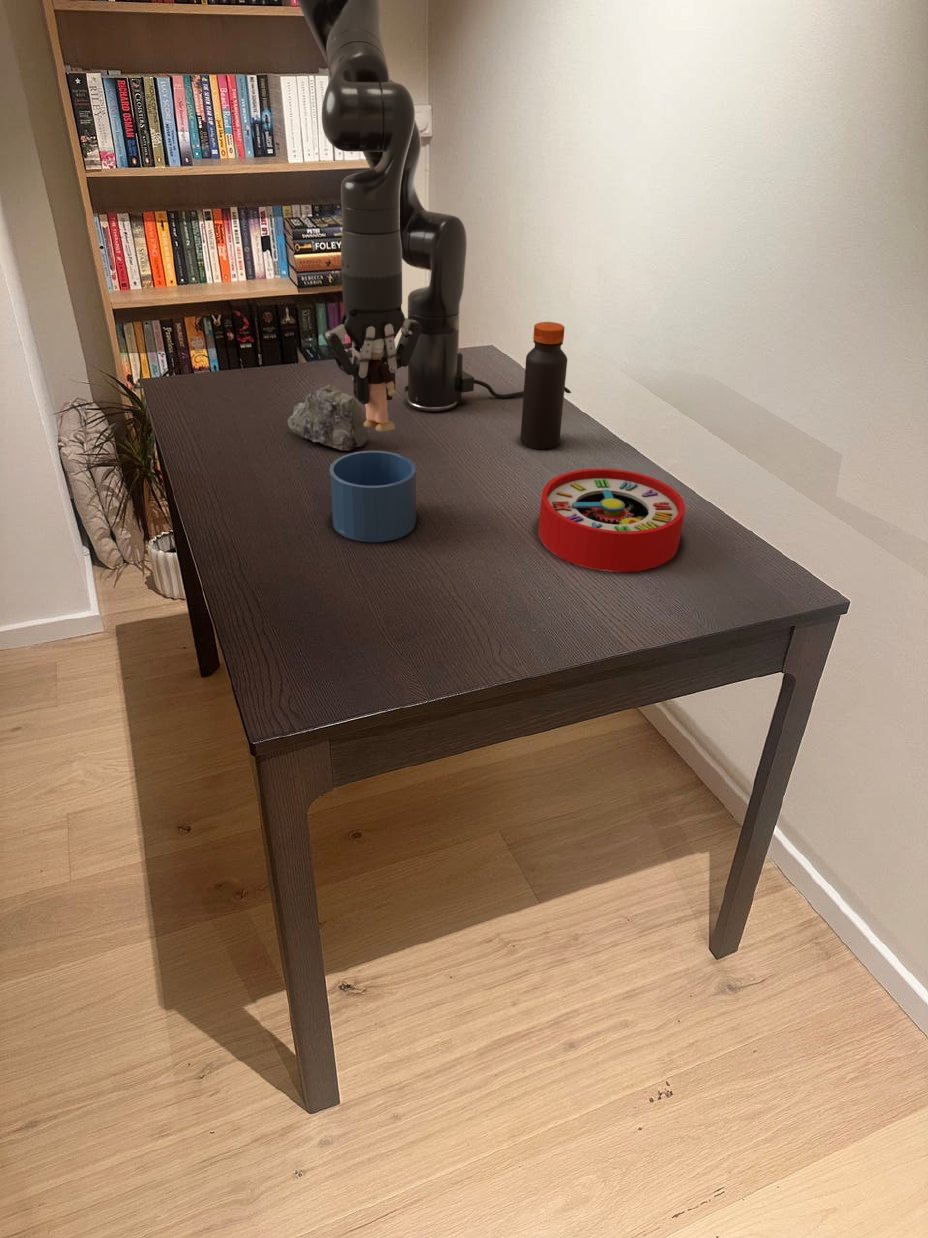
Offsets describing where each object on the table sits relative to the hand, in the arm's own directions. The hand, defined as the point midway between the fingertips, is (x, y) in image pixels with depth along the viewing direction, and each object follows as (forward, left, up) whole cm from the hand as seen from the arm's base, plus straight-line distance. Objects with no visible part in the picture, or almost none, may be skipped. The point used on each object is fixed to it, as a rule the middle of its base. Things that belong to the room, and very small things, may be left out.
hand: (375, 399), depth 123 cm
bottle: (-37, -12, -18) cm, 43 cm away
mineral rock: (-5, -29, -18) cm, 35 cm away
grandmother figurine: (0, 0, -4) cm, 4 cm away
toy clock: (-27, +20, -18) cm, 38 cm away
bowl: (+1, +1, -18) cm, 18 cm away
